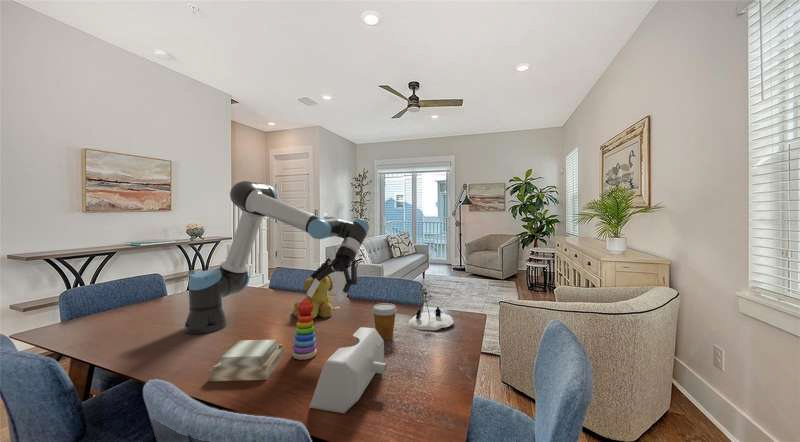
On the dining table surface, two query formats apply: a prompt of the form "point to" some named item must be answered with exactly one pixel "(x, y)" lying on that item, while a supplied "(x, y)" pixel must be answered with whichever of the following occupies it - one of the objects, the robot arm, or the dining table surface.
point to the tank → (349, 372)
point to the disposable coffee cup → (384, 319)
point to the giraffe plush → (318, 298)
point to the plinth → (248, 370)
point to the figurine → (430, 317)
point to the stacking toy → (304, 333)
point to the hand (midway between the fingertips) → (323, 297)
